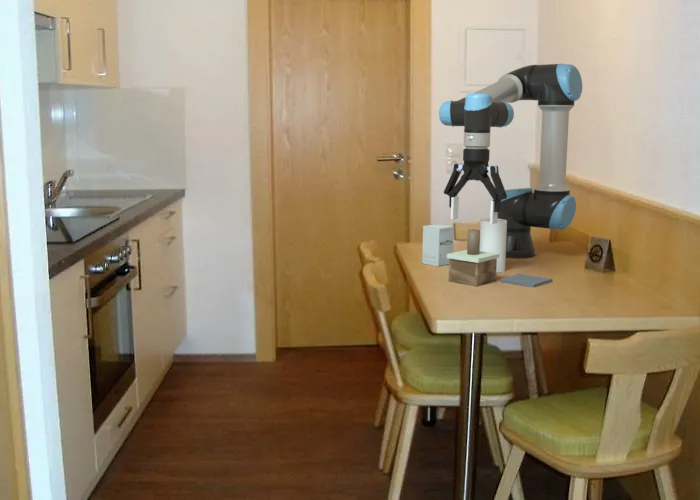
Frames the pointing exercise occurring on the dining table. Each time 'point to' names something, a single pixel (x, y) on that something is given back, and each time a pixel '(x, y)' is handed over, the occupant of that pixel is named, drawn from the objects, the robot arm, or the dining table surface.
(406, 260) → the dining table surface
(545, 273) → the dining table surface
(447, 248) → the supplement box
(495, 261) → the box
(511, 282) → the plate
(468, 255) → the lid
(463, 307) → the dining table surface
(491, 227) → the cup
